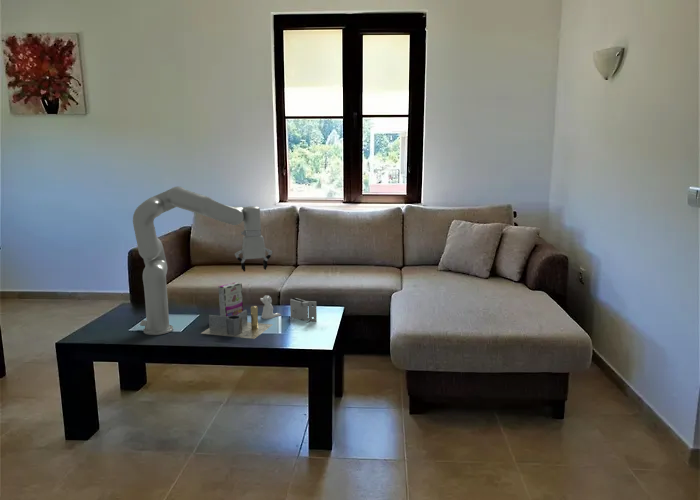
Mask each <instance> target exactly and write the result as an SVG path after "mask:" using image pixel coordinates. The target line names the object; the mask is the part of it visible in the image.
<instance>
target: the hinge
mask: <svg viewBox="0 0 700 500" xmlns="http://www.w3.org/2000/svg"><path fill="white" fill-rule="evenodd" d="M289 300H290V301H289V303H290V306H289V307H290V309H289V310H290V311H289V312H290V318H293V319H297V320H299V321H303V322H306V321H307V322H306V324H308V323H310V322H311V323H317V320H318V319H317V301H311V300H310V301H309V300H304V299H301V298H297V297H292V298H290V299H289Z"/></svg>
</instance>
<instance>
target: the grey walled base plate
mask: <svg viewBox="0 0 700 500" xmlns="http://www.w3.org/2000/svg"><path fill="white" fill-rule="evenodd" d="M208 325H209V326H208V328H207V329H205V330H204V331H202V332H200V334H203V335H212V336H213V335H214V336H221V337H222V336H224V337H231V338H241V339H253V340H255V339H256V338H257V337H259V336H261V335H262V333H264V332H266V331H267V330H268V329H269V328H271V327H272V326H273V325H274V324H272V323H271V324H270V323H259V322H258V329H252V328H251V321H248V310H247V309H243V311H242V312H241V313H239V314H238V315H232V316H220V315H215V314H214V315H213V314H208Z"/></svg>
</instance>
